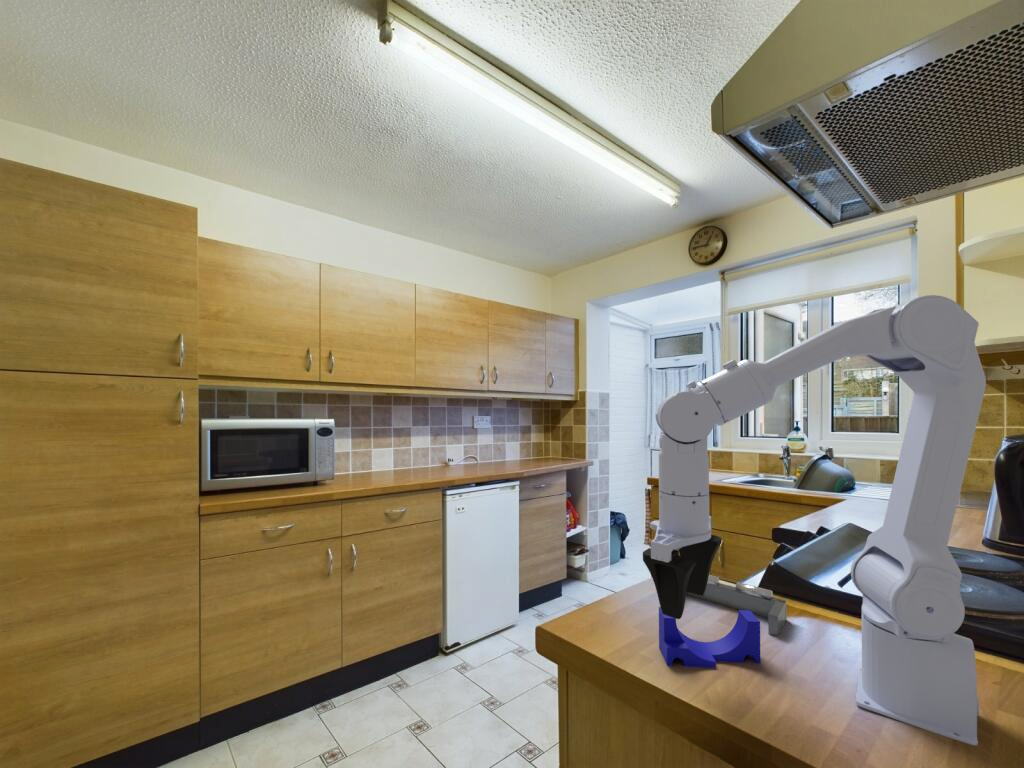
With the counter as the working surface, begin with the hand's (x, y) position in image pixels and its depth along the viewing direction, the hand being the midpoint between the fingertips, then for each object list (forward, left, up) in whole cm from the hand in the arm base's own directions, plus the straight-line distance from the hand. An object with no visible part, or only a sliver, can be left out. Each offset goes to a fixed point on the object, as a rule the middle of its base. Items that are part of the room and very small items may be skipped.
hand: (684, 603), depth 56 cm
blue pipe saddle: (-1, -7, -10) cm, 12 cm away
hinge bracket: (+2, -20, -10) cm, 22 cm away
